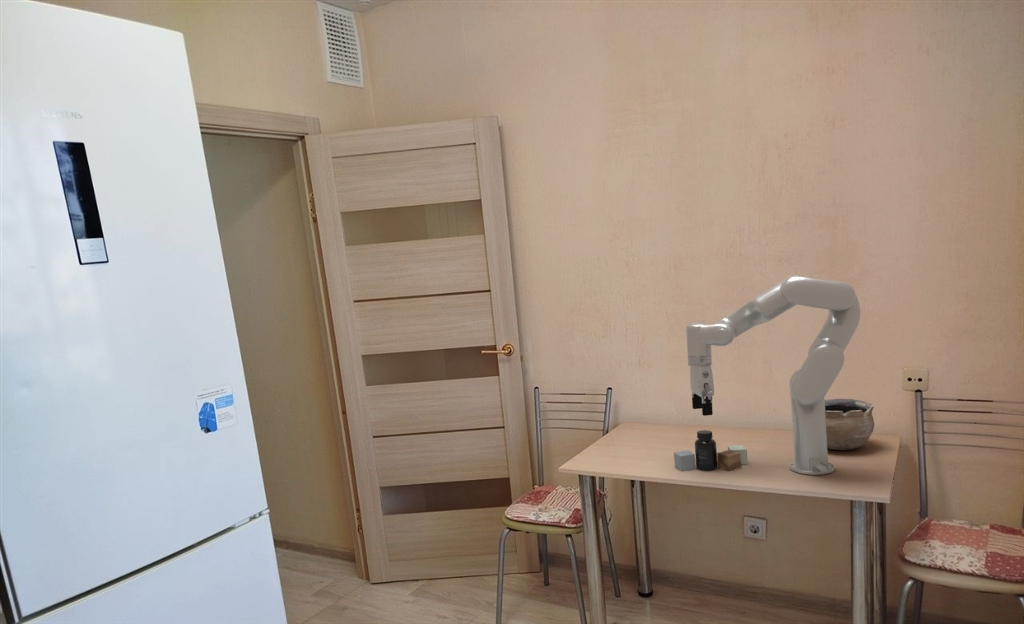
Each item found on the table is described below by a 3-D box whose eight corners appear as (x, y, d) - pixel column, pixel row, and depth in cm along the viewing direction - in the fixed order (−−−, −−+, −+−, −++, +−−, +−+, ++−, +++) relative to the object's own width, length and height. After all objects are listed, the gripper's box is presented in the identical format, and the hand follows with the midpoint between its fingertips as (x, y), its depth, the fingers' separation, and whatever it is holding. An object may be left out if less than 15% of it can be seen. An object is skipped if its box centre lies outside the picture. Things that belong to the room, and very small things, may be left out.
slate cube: (695, 469, 210) (694, 454, 209) (681, 471, 209) (680, 456, 209) (689, 464, 215) (687, 450, 214) (675, 467, 214) (673, 452, 213)
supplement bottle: (722, 468, 208) (719, 432, 207) (705, 472, 205) (702, 435, 205) (708, 463, 214) (706, 428, 213) (691, 467, 212) (689, 431, 211)
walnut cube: (741, 468, 207) (740, 453, 206) (729, 471, 205) (728, 456, 204) (729, 464, 211) (728, 449, 211) (718, 467, 209) (717, 452, 209)
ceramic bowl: (835, 460, 206) (833, 414, 205) (790, 444, 227) (787, 402, 226) (891, 449, 212) (889, 405, 211) (841, 435, 233) (839, 394, 232)
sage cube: (747, 464, 210) (746, 449, 210) (732, 465, 211) (731, 450, 210) (743, 459, 215) (742, 445, 215) (728, 460, 216) (727, 446, 215)
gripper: (720, 363, 202) (723, 417, 203) (702, 356, 219) (704, 405, 220) (697, 365, 201) (700, 418, 202) (680, 357, 219) (683, 407, 220)
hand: (702, 411), depth 211 cm, fingers open, 9 cm apart
